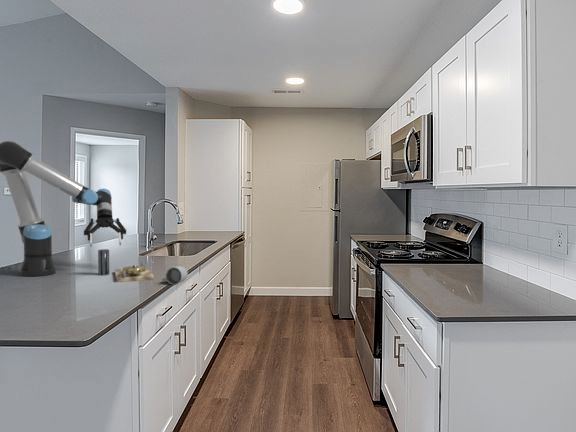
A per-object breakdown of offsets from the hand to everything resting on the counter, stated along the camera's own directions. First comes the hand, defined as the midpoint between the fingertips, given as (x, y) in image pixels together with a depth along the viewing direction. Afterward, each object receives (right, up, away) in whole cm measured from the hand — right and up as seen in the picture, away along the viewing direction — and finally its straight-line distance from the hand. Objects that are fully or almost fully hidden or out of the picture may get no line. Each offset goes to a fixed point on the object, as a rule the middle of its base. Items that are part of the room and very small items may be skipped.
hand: (105, 244), depth 217 cm
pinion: (+3, -14, -8) cm, 17 cm away
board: (+18, -14, -11) cm, 26 cm away
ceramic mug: (+41, -16, -26) cm, 51 cm away
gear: (+21, -13, -18) cm, 30 cm away
